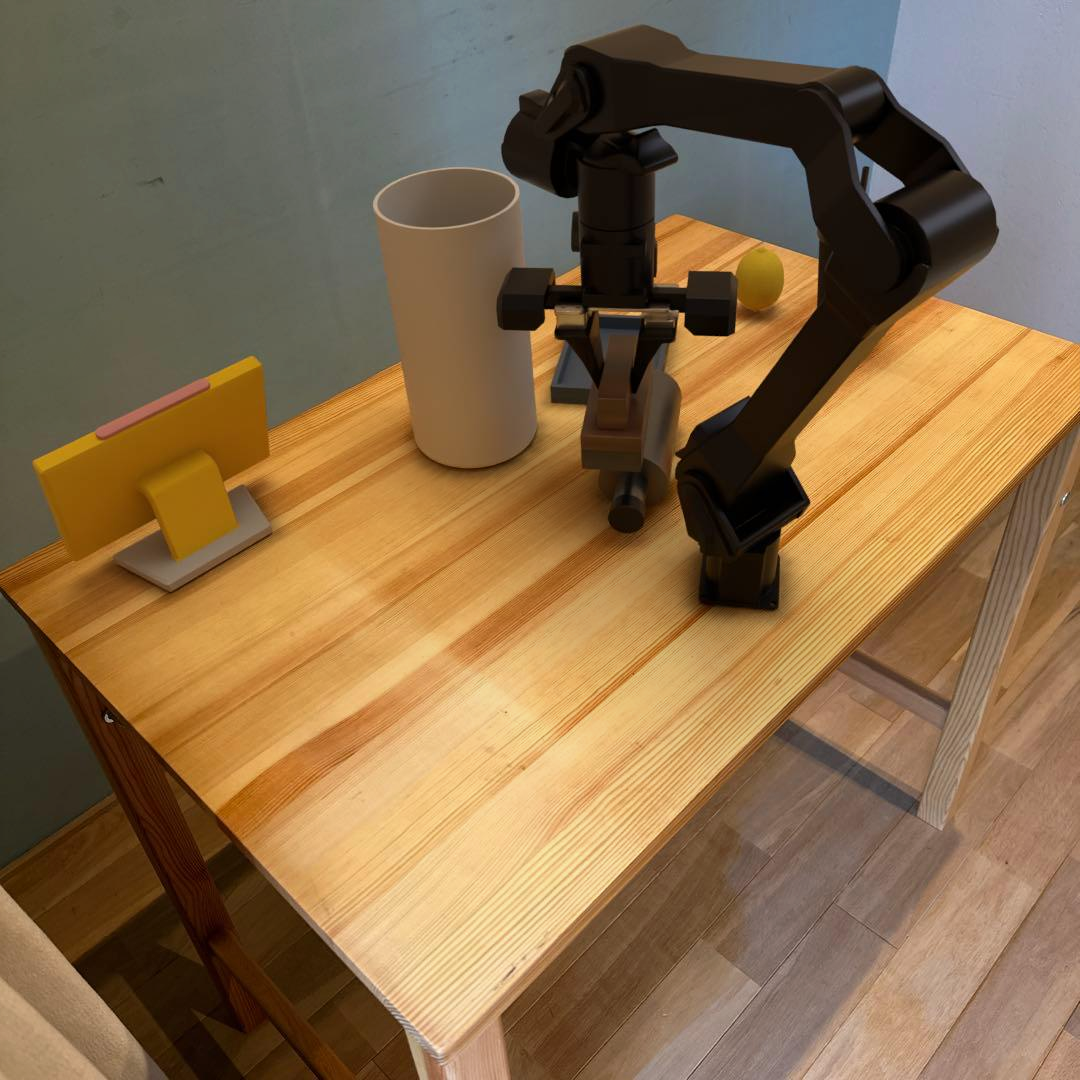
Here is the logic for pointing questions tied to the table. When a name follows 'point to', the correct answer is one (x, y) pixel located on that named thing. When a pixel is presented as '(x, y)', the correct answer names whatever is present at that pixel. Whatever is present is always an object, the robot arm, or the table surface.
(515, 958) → the table surface
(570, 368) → the tray
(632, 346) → the scrub brush
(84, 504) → the yellow framed monitor
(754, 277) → the lemon
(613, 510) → the bottle
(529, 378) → the cylinder vase
